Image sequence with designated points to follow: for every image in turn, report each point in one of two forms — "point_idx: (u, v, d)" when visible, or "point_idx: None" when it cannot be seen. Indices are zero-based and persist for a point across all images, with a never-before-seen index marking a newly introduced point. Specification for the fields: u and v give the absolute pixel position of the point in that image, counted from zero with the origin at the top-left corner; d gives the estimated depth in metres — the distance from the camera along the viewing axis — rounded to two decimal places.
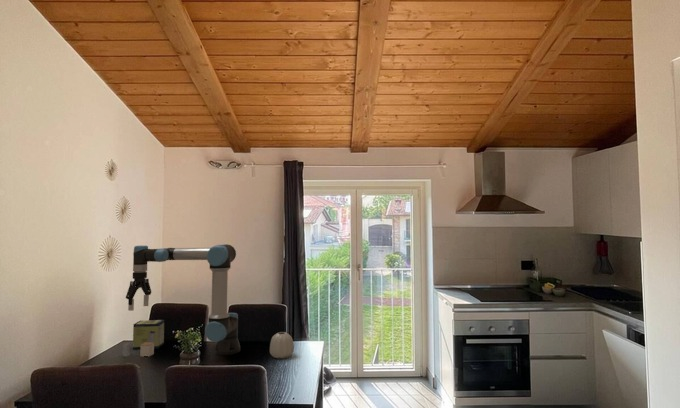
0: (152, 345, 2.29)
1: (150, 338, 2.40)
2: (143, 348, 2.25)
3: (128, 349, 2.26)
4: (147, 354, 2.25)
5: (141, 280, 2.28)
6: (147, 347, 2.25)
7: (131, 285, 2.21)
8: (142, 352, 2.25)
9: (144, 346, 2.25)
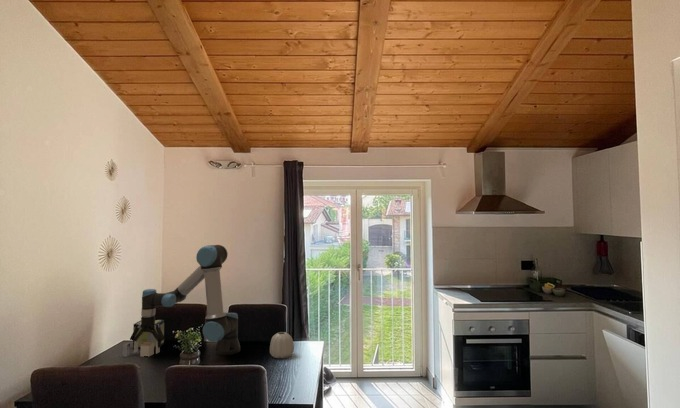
0: (152, 345, 2.29)
1: (150, 338, 2.40)
2: (143, 348, 2.25)
3: (128, 349, 2.26)
4: (147, 354, 2.25)
5: (147, 325, 2.28)
6: (147, 347, 2.25)
7: None
8: (142, 352, 2.25)
9: (144, 346, 2.25)
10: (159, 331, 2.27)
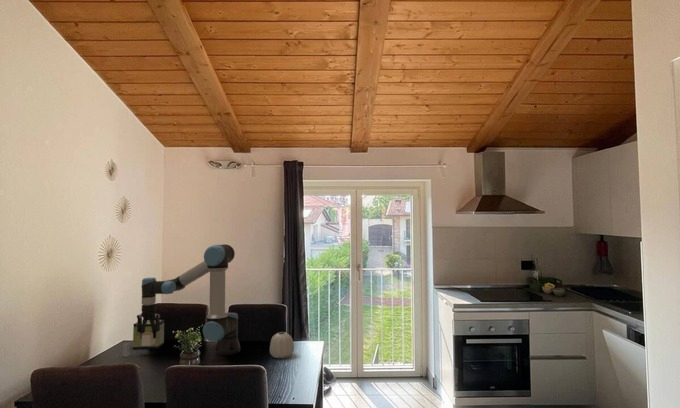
0: None
1: None
2: (144, 337, 2.26)
3: (128, 349, 2.26)
4: (148, 343, 2.25)
5: (147, 313, 2.28)
6: (148, 336, 2.26)
7: None
8: (143, 341, 2.26)
9: (145, 335, 2.26)
10: (157, 322, 2.28)
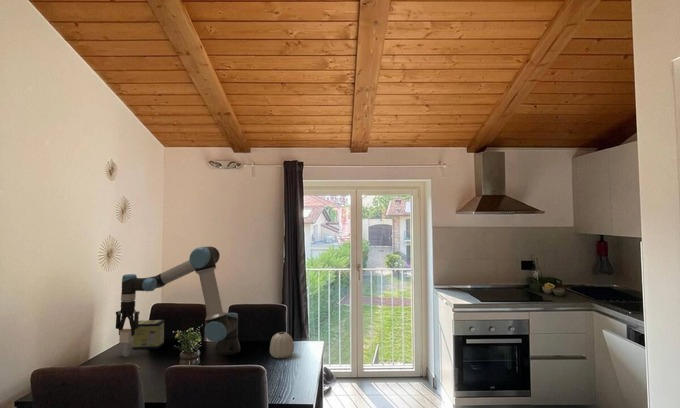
0: None
1: (150, 338, 2.40)
2: (122, 334, 2.24)
3: (128, 349, 2.26)
4: (126, 340, 2.24)
5: (126, 310, 2.27)
6: (126, 333, 2.24)
7: None
8: (121, 338, 2.24)
9: (123, 332, 2.24)
10: (136, 319, 2.26)
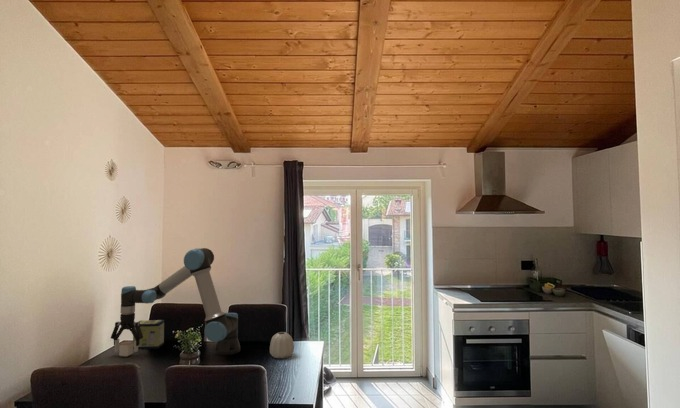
0: (131, 344, 2.27)
1: (150, 338, 2.40)
2: (122, 347, 2.24)
3: None
4: (126, 353, 2.23)
5: (126, 322, 2.26)
6: (126, 346, 2.23)
7: None
8: (121, 351, 2.23)
9: (123, 345, 2.24)
10: (138, 329, 2.25)
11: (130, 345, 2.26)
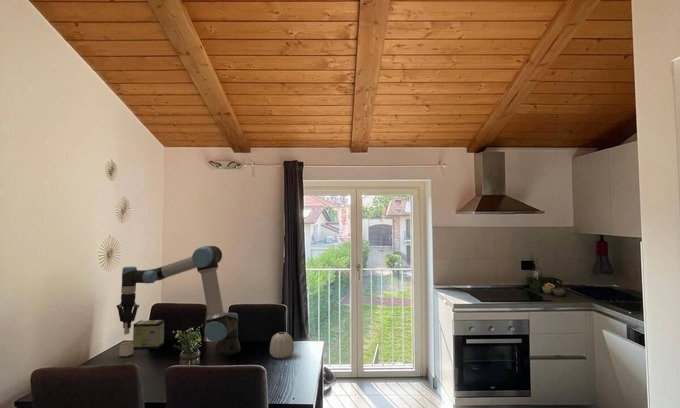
0: (131, 344, 2.27)
1: (150, 338, 2.40)
2: (122, 347, 2.24)
3: None
4: (126, 353, 2.23)
5: (127, 302, 2.27)
6: (126, 346, 2.23)
7: None
8: (121, 351, 2.23)
9: (123, 345, 2.24)
10: (134, 312, 2.26)
11: (130, 345, 2.26)
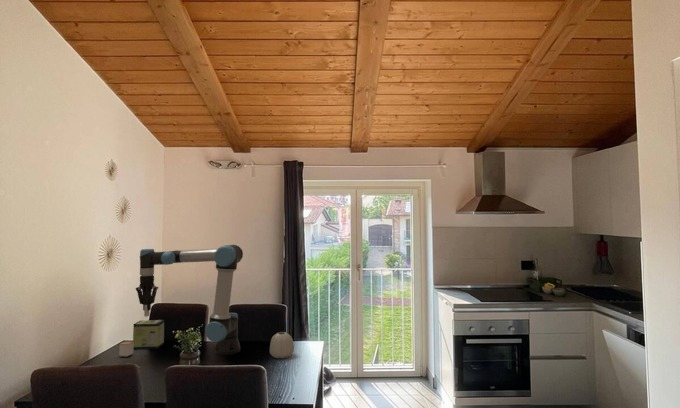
0: (131, 344, 2.27)
1: (150, 338, 2.40)
2: (122, 347, 2.24)
3: None
4: (126, 353, 2.23)
5: (146, 284, 2.26)
6: (126, 346, 2.23)
7: None
8: (121, 351, 2.23)
9: (123, 345, 2.24)
10: (154, 294, 2.25)
11: (130, 345, 2.26)
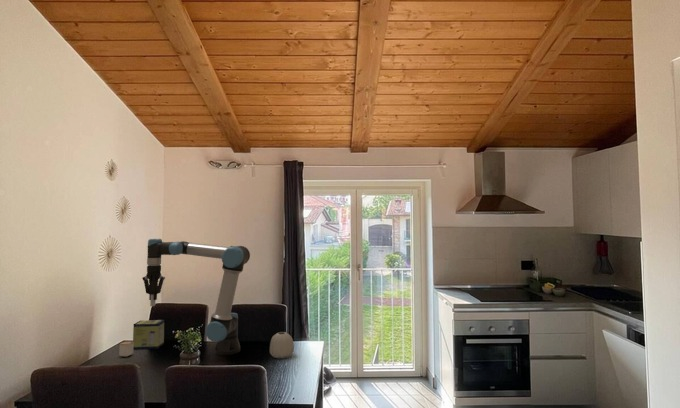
0: (131, 344, 2.27)
1: (150, 338, 2.40)
2: (122, 347, 2.24)
3: None
4: (126, 353, 2.23)
5: (152, 274, 2.26)
6: (126, 346, 2.23)
7: None
8: (121, 351, 2.23)
9: (123, 345, 2.24)
10: (160, 284, 2.25)
11: (130, 345, 2.26)
